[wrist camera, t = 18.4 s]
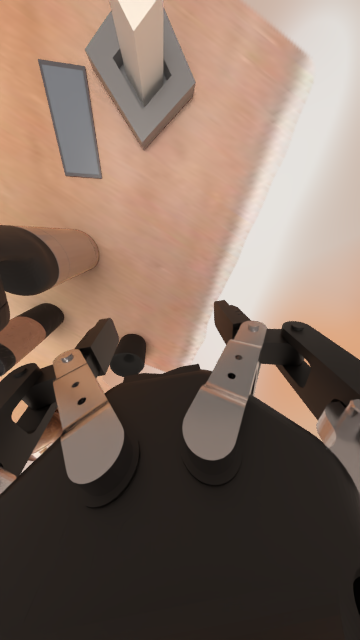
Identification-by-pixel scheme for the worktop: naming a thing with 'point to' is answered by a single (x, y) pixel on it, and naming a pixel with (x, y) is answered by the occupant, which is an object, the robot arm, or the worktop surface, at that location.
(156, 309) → the worktop surface
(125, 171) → the worktop surface
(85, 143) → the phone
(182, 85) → the block
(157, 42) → the white block with peg
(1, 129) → the worktop surface
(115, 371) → the pen holder
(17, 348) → the travel mug
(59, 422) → the wooden sphere
